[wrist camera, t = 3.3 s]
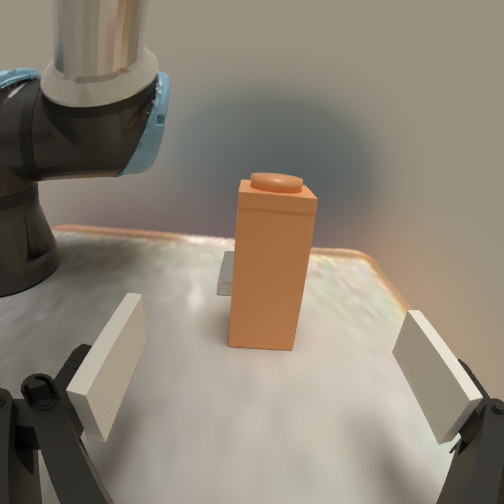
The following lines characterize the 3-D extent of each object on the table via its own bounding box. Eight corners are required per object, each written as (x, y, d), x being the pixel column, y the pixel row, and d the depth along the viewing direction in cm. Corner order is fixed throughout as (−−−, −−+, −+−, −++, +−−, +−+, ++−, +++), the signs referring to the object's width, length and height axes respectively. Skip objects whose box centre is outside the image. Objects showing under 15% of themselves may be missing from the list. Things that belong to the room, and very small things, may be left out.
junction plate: (218, 294, 31) (221, 227, 29) (224, 262, 39) (227, 206, 36) (297, 300, 32) (308, 234, 29) (289, 267, 39) (296, 212, 36)
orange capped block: (228, 346, 24) (239, 178, 19) (232, 312, 29) (242, 169, 24) (292, 350, 24) (319, 186, 19) (286, 316, 29) (306, 175, 24)
